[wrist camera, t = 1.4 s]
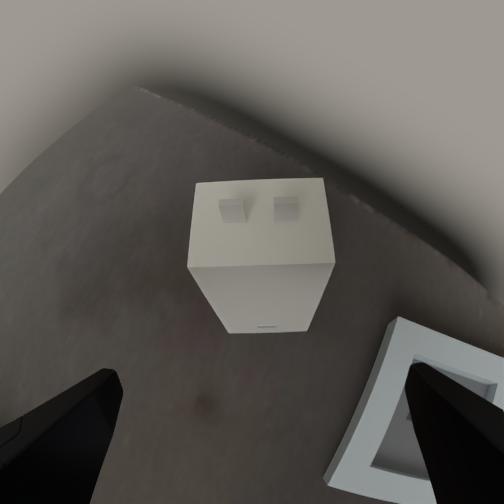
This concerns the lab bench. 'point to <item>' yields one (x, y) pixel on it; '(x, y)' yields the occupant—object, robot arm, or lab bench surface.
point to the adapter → (262, 251)
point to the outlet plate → (404, 413)
